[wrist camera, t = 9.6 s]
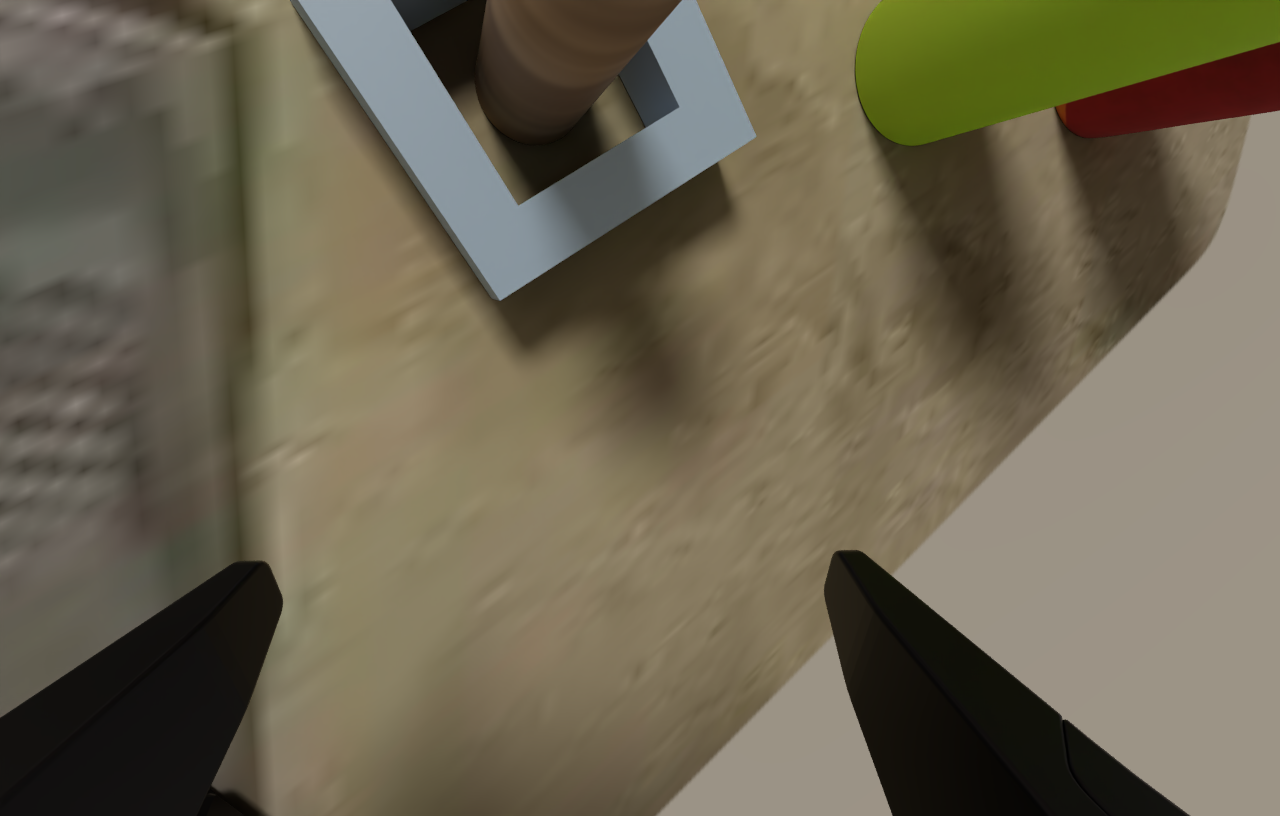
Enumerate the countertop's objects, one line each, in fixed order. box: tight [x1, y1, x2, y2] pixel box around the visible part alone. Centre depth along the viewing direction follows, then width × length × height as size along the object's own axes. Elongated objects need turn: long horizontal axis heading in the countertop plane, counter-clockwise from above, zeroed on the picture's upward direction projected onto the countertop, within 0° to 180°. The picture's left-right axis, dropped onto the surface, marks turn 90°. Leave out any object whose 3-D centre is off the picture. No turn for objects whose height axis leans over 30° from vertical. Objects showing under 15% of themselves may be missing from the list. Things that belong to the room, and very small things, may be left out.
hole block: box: [290, 0, 757, 301], centre depth 18 cm, size 10×10×3 cm
